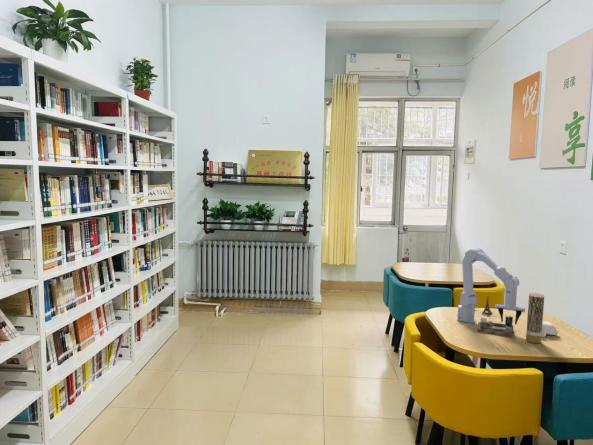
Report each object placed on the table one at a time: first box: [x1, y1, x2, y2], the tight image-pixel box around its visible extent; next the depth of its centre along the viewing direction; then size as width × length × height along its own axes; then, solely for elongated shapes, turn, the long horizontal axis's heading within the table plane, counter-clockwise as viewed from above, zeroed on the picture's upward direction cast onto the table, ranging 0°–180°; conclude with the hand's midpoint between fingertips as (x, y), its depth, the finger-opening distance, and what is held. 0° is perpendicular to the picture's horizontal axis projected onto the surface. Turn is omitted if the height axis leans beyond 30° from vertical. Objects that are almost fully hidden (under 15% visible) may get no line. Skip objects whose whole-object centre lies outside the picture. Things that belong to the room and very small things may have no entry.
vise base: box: [476, 317, 515, 339], centre depth 224 cm, size 18×14×5 cm
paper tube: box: [525, 292, 545, 344], centre depth 208 cm, size 7×7×25 cm
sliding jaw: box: [504, 315, 514, 330], centre depth 221 cm, size 4×8×7 cm, turn 153°
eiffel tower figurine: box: [475, 295, 496, 318], centre depth 256 cm, size 15×10×13 cm
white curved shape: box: [541, 321, 559, 338], centre depth 220 cm, size 8×8×15 cm
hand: (508, 322), depth 221 cm, fingers open, 6 cm apart
